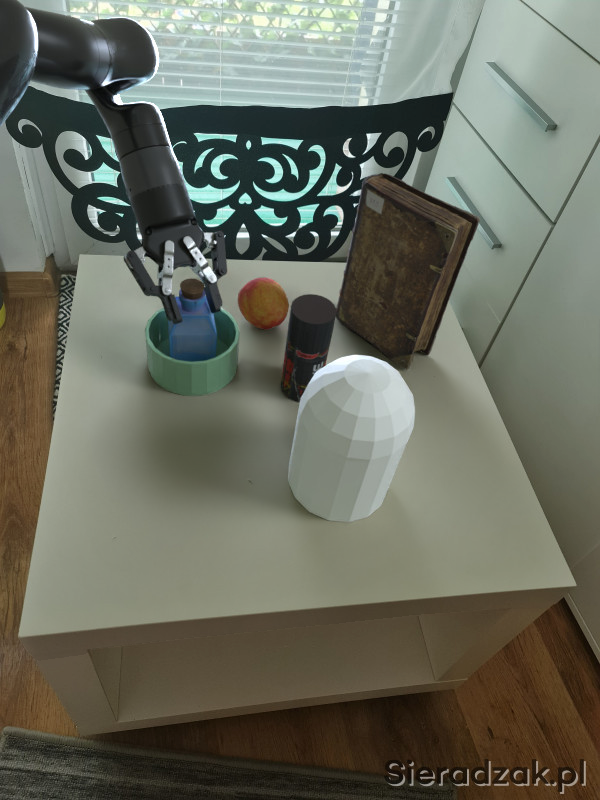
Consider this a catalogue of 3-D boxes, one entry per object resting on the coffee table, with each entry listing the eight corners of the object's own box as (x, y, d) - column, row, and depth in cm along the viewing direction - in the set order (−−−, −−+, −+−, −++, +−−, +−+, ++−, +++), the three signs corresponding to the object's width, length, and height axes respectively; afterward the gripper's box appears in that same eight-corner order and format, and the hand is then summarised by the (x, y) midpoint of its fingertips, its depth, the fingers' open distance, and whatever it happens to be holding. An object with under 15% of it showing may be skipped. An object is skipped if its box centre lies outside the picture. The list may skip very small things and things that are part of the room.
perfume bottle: (210, 336, 92) (213, 271, 83) (215, 366, 88) (218, 300, 79) (168, 338, 91) (166, 271, 82) (171, 367, 87) (169, 301, 78)
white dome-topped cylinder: (409, 496, 80) (455, 393, 65) (324, 540, 74) (354, 439, 59) (349, 424, 87) (379, 317, 72) (268, 460, 81) (282, 350, 66)
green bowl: (170, 407, 85) (168, 375, 80) (134, 348, 92) (130, 315, 87) (252, 378, 91) (255, 346, 86) (213, 324, 97) (213, 292, 93)
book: (329, 315, 102) (357, 175, 84) (358, 299, 106) (391, 162, 87) (403, 374, 95) (452, 235, 76) (432, 355, 99) (485, 218, 80)
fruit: (278, 302, 103) (283, 263, 97) (292, 335, 98) (298, 295, 92) (232, 308, 100) (234, 268, 95) (245, 341, 96) (247, 301, 90)
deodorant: (295, 366, 93) (308, 288, 82) (327, 386, 91) (345, 308, 80) (272, 388, 90) (281, 309, 79) (304, 408, 88) (319, 330, 77)
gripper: (108, 192, 73) (154, 330, 76) (216, 172, 80) (255, 300, 82) (98, 209, 80) (140, 334, 83) (198, 189, 86) (235, 307, 89)
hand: (197, 317), depth 83 cm, fingers closed on perfume bottle, 5 cm apart
